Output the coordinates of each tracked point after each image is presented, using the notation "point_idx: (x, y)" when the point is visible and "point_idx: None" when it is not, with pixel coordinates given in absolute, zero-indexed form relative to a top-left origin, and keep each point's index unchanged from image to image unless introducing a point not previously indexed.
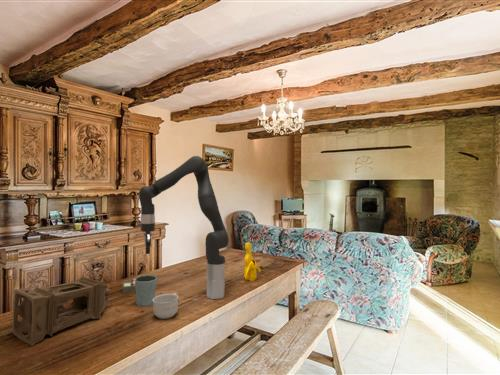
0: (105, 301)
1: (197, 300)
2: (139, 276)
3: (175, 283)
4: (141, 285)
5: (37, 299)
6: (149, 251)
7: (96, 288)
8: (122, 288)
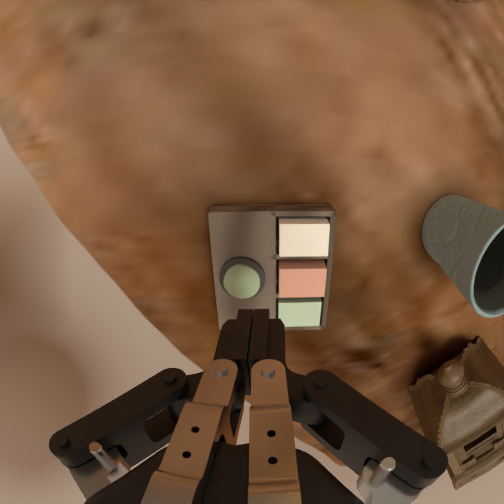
0: (466, 355)
1: (480, 43)
2: (475, 303)
3: (249, 68)
4: None
5: None
6: (269, 325)
7: None
8: (324, 325)
